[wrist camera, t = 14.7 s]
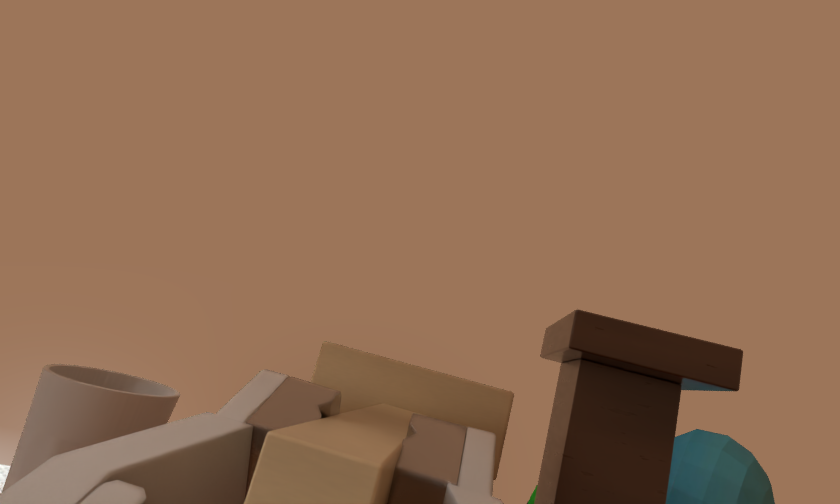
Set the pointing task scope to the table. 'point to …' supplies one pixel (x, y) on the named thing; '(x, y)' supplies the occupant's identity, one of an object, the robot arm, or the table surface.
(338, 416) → the wooden mallet
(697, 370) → the dark wooden pillar stand
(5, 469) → the table surface
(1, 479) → the table surface
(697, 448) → the toy
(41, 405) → the cup
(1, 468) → the table surface
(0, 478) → the table surface
